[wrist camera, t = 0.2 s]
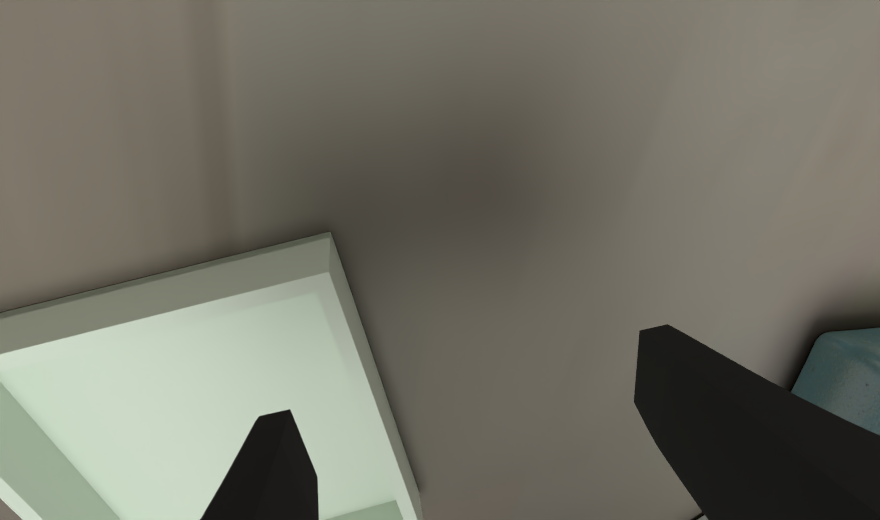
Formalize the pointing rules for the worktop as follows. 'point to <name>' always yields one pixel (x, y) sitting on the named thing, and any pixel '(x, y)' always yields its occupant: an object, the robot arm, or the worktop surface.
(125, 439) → the parts tray
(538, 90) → the worktop surface
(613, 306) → the worktop surface
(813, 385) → the flower pot
